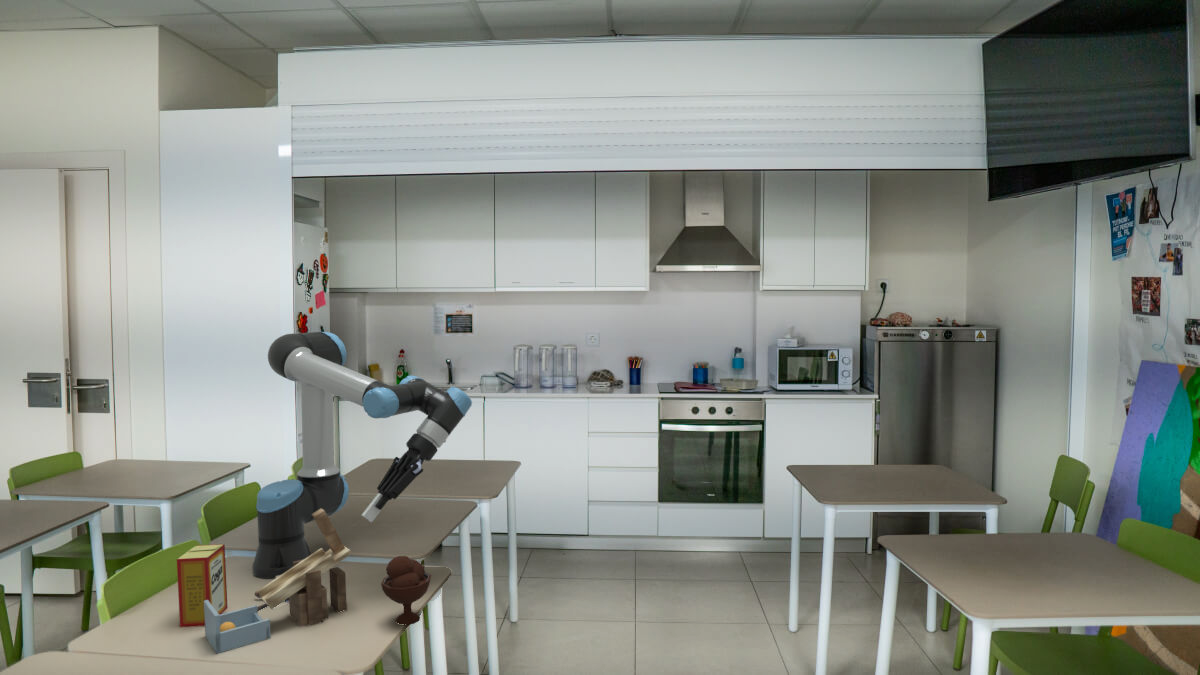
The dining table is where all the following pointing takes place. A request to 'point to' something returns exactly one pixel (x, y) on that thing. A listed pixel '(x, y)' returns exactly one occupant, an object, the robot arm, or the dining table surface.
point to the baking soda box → (201, 583)
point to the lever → (306, 565)
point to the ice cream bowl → (405, 585)
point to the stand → (318, 597)
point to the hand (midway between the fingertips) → (366, 518)
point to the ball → (227, 626)
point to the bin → (245, 632)
